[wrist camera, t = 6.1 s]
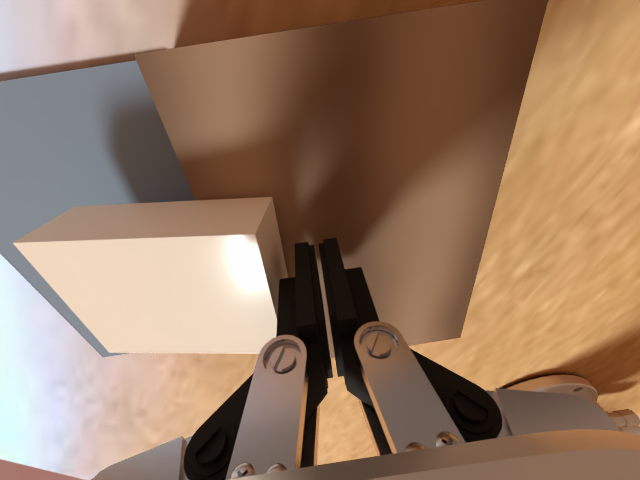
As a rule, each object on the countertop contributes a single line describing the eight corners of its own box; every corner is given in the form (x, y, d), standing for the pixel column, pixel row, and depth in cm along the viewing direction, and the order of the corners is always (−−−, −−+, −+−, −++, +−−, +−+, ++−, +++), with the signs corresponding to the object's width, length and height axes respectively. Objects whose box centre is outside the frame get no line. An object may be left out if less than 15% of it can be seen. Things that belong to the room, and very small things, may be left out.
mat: (163, 56, 10) (161, 56, 10) (265, 328, 19) (265, 331, 19) (-137, 103, 10) (-148, 103, 10) (105, 353, 19) (102, 357, 19)
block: (272, 196, 10) (255, 234, 8) (294, 307, 13) (285, 353, 11) (74, 206, 11) (12, 243, 9) (142, 309, 14) (109, 352, 12)
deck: (487, 6, 10) (550, -11, 8) (438, 301, 19) (460, 337, 17) (172, 55, 10) (133, 54, 8) (269, 327, 19) (266, 367, 17)
